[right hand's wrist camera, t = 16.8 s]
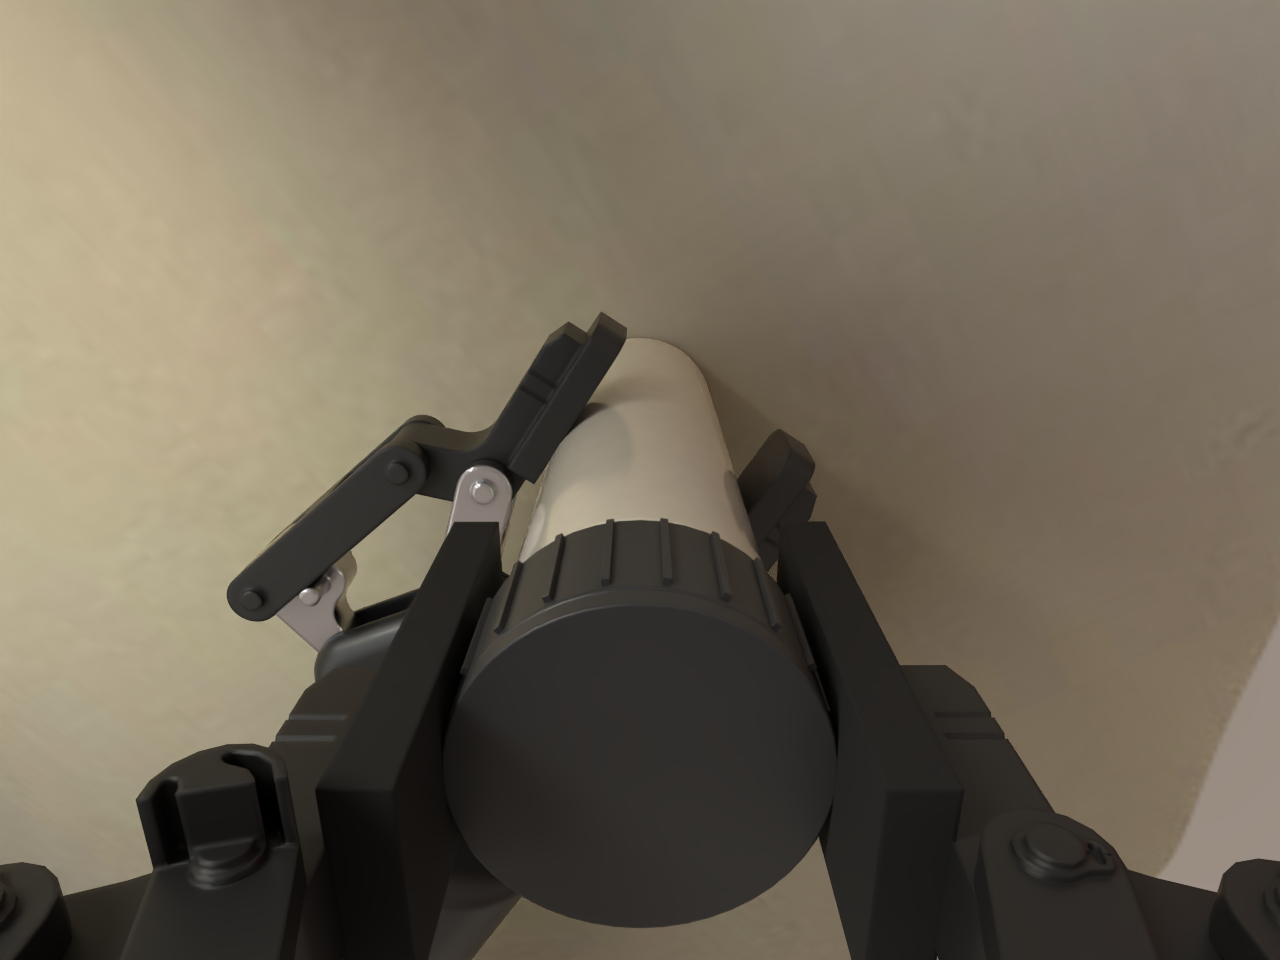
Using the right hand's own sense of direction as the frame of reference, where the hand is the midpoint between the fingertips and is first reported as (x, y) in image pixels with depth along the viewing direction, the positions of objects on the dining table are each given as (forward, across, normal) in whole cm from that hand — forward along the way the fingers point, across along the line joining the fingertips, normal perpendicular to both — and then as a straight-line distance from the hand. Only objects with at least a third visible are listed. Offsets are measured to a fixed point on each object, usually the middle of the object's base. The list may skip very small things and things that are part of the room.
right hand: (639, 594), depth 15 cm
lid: (-4, 0, 0) cm, 4 cm away
